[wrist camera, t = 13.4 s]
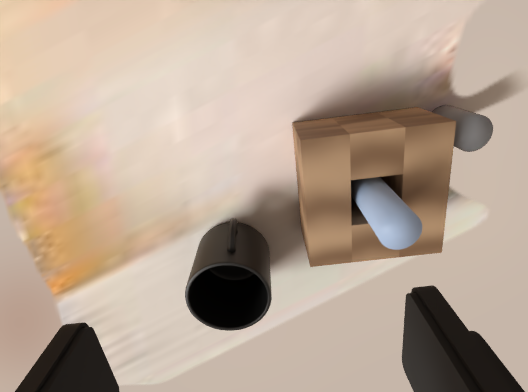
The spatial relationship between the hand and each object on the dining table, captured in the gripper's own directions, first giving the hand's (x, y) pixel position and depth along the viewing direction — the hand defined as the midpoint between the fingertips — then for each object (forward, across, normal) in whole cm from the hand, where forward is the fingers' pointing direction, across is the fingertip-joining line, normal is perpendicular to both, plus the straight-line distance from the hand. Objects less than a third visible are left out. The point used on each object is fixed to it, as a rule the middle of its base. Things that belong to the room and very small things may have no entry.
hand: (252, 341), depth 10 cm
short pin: (+30, -21, +2) cm, 37 cm away
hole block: (+30, -11, +7) cm, 33 cm away
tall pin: (+30, -11, +7) cm, 33 cm away
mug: (+31, +5, +15) cm, 34 cm away
